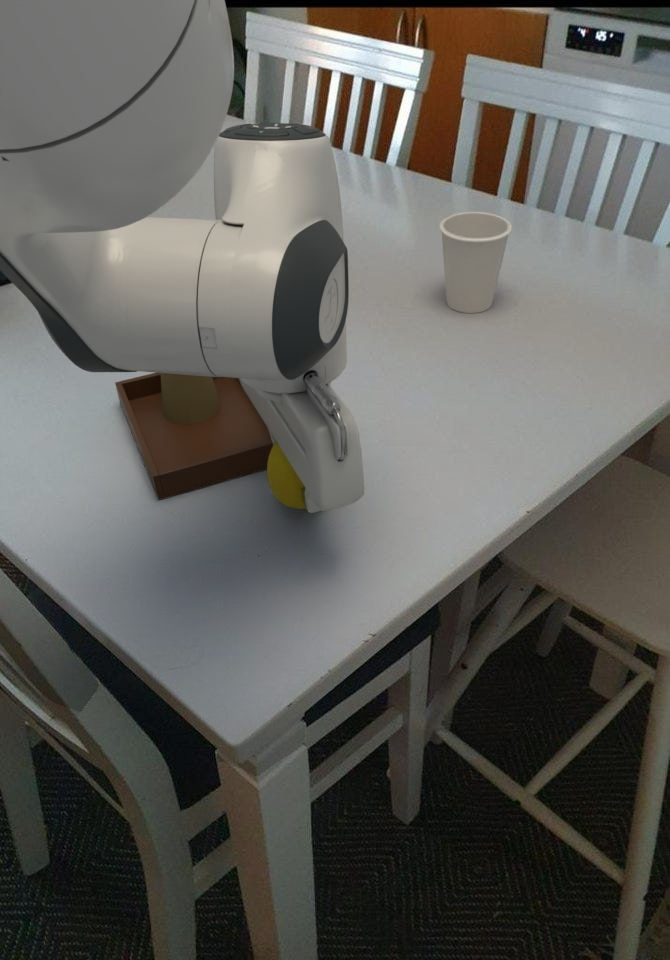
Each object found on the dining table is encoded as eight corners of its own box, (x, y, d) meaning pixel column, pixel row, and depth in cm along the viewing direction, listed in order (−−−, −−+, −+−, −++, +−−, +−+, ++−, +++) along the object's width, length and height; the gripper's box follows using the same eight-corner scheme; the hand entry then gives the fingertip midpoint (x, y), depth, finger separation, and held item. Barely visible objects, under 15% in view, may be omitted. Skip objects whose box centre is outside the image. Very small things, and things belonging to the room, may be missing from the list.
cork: (174, 388, 87) (156, 295, 80) (228, 393, 86) (214, 299, 79) (153, 421, 82) (132, 324, 75) (209, 426, 81) (193, 329, 74)
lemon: (264, 524, 71) (256, 452, 66) (278, 484, 75) (271, 413, 70) (327, 530, 70) (323, 457, 65) (337, 488, 74) (334, 417, 69)
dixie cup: (454, 281, 106) (459, 206, 99) (513, 296, 102) (523, 219, 96) (423, 308, 100) (427, 230, 94) (485, 324, 97) (493, 244, 90)
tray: (158, 500, 74) (152, 476, 72) (120, 404, 86) (114, 382, 84) (293, 461, 78) (291, 438, 76) (238, 375, 90) (235, 353, 88)
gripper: (385, 402, 55) (384, 547, 64) (282, 282, 70) (293, 414, 79) (299, 426, 54) (310, 571, 62) (212, 298, 68) (231, 430, 77)
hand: (300, 482), depth 71 cm, fingers closed on lemon, 5 cm apart
